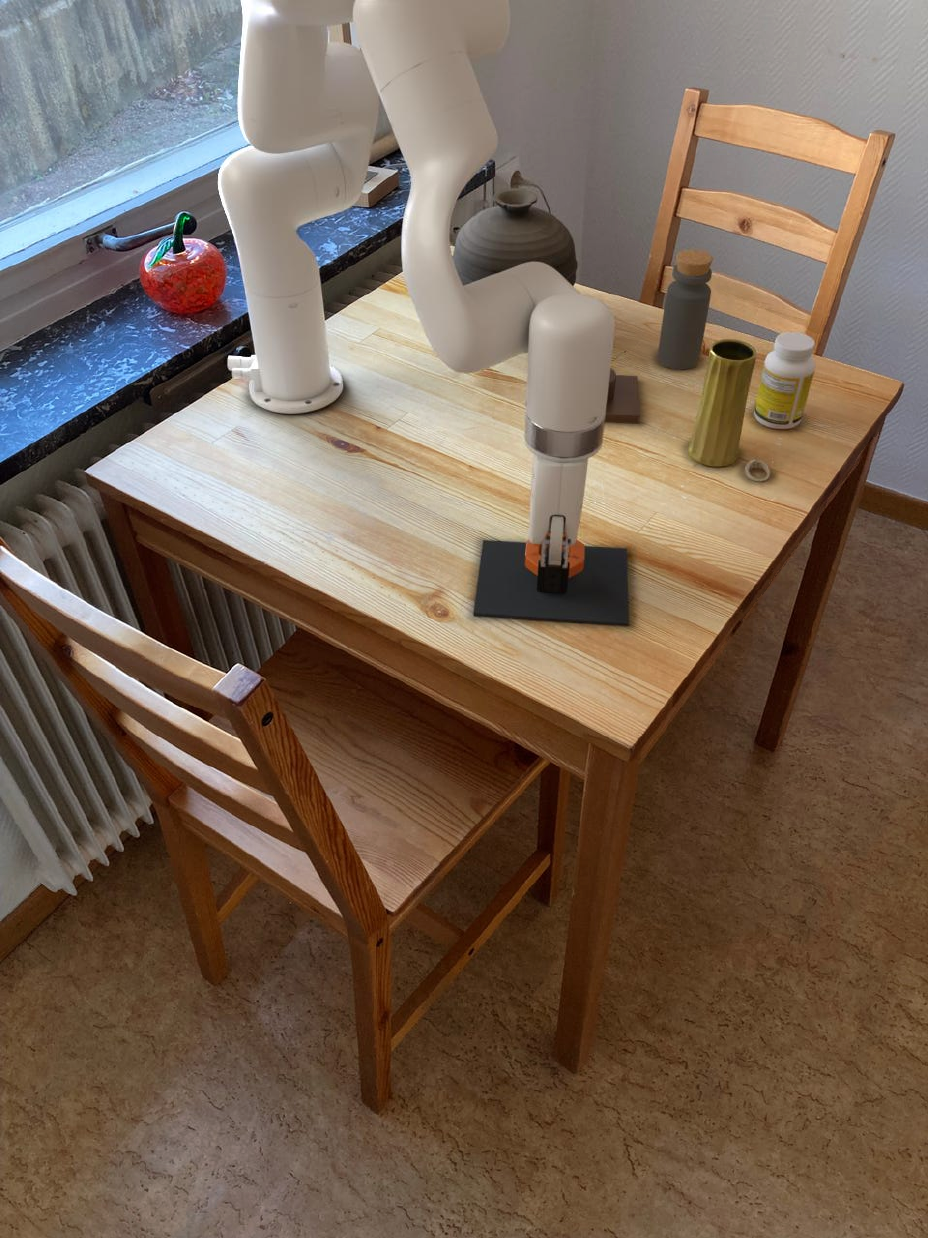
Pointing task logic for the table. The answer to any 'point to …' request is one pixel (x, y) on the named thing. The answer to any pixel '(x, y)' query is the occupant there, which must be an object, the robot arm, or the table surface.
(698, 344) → the bottle
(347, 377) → the table surface
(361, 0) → the robot arm
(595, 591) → the mat
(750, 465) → the ring
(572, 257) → the pot
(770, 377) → the pill bottle
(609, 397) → the stand
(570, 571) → the orange ring
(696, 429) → the vase
